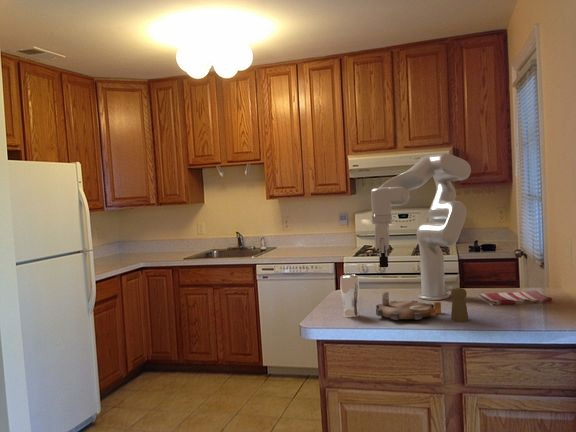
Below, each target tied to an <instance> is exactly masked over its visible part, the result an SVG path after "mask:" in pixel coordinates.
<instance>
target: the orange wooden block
mask: <svg viewBox="0 0 576 432" xmlns="http://www.w3.org/2000/svg"><path fill="white" fill-rule="evenodd" d="M433 305H434V309H436V314H435V315H437V314H442V303H441V302H440V301H433ZM398 320H399V321H411V320H412V321H413V320H414V321H415V319H398Z"/></svg>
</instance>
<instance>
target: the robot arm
mask: <svg viewBox="0 0 576 432" xmlns="http://www.w3.org/2000/svg"><path fill="white" fill-rule="evenodd" d="M471 173H472V169H471V165H470V163H469V162H468V161H467V160H465V159H463V158H461V157H458V156H456V155H453V154H451V153H446V152H445V153H444V152H441V153H434V154H432V153H431V154H427V155H425V156H423V157H422V158H421V159H419V160H418V161H417V162H416V163H415V164H414V165H413V166H412V167H410V168H409V169H408V170H406V171H404V172H402V173H399V174H398V175H396V176H393V177H391V178H390V179H388V180H387V181H385V182H384V183H383V184H381V186H379V187H377V188H373V189H371V192H370V200H371V203H370V204H371V223H372V224H371V225H374V243H375V244H374V247H375V250H376V251H377V250H378V249H379V257H378V258H379V259H378V260H379V261H378V262H379V268H388V267H389V256H388V249H389V247H390V224H392V223H393V217H392V216H393V212H392V207H397V206H398V207H400V206H404V205H407V203H408V202H409V200H410V197H411V196H410V195H411V194H410V191H413V190H416V189H418V188H421V187H422V186H424V184H426V183H427V182H428V181H429V180H430V179H432V178H433V180H434V184H435V187H436V188H435V190H436V192H435V195H434V197H433V200H432V202H431V204H430V207H429V210H428V213H427V215H428V220H429V221H431V222H424V223H421V224H420V225H419V226H418V228H417V230H416V239H417V243H418V249H419V259H420V260H419V261H420V263H419V264H420V282H421V285H420V286H421V288H420V289H421V292H419V293H417V296H418V298H419V299H421V300H427V301H440V300H446V299H448V298H449V297H450V295H449V293H448V292H451V291H452V289H454V288H455V286H453V285H450V286H447V285H445V284H446V283H445V263H444V258H445V257H444V253H443V250H442V249H441V247H452V246H454V245H456V244H457V242H458V240H459V239H460V235H461V232H462V230H463V228H464V225H465V222H466V219H467V206H465V204H464V203H463V202H462V201H459V200H456V198H457V192H456V189H455V187H454V185H453V184H452V182H457V181H464V180H467V179H468V178H469V177H470V176H471Z"/></svg>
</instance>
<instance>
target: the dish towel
mask: <svg viewBox="0 0 576 432" xmlns="http://www.w3.org/2000/svg"><path fill="white" fill-rule="evenodd" d="M476 297H477V298H479V299H481V300H482V301H484V302H486V303H487V304H489V305H491V306H512V305H529V304H531V305H533V304H543V303H542V302H554V300H553V297H551V296H547V295H544V294H542V293H541V292H539V291H538V290H535V289H534V290H527V291H517V292H491V293H490V292H488V293H479V294H477V296H476ZM532 303H533V304H532Z"/></svg>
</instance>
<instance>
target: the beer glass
mask: <svg viewBox="0 0 576 432" xmlns="http://www.w3.org/2000/svg"><path fill="white" fill-rule="evenodd" d="M339 281H340V285H339V286H340V295H341V300H342V305H343V311H342V316H343V317H345V318H357V317H359V316H360V311H359V307H358V303H359V296H360V295H359V294H360V285H359V284H360V283H359V276H358V275H356V274H343V275H341V276H340V280H339Z"/></svg>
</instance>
